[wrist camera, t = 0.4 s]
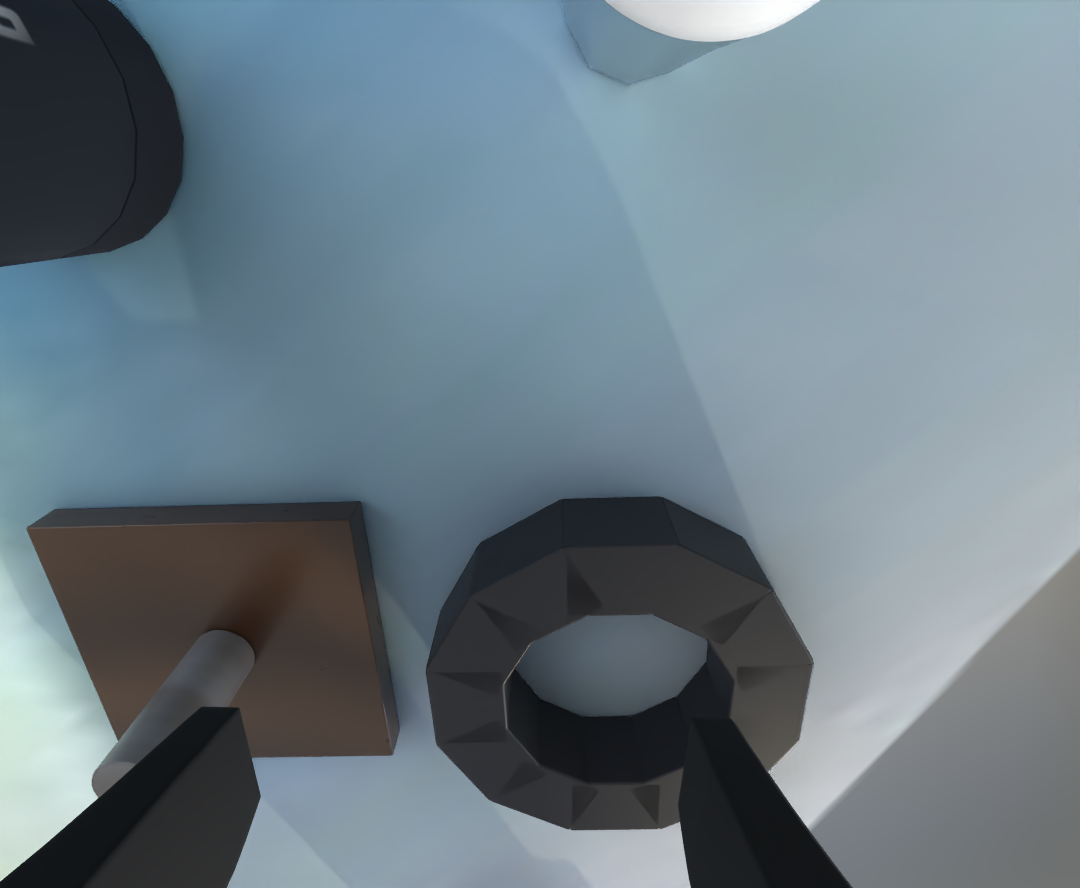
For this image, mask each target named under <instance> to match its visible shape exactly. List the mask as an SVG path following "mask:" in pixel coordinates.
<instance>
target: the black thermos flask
mask: <svg viewBox="0 0 1080 888" xmlns="http://www.w3.org/2000/svg"><path fill="white" fill-rule="evenodd" d="M182 153H183V134H182V130H181V125H180V121H179V116H178V112H177V108H176V103H175V99H174V94H173V91H172V89H171V87H170V85H169V83H168V81H167V79H166V77H165V75H164V74H163V72H162V70H161V68H160V66H159V64H158V62H157V60H156V58H155V56H154V54H153V52H152V50H151V48H150V46H149V45H148V44H147V43H146V41H145V40H144V39H143V38H142V37H141V36H140V34H139V33H138V32H137V31H136V30H135V29H134V27H133V26H132V25H131V24H130V23H129V22H128V20H127V19H126V18H125V17H124V16H123V15H122V13H121V12H120V11H119V10H118V9H117V8H116V6H115V5H113V4H112V3H111V2H109V1H108V0H0V267H3V266H10V265H17V264H25V263H32V262H39V261H46V260H53V259H58V258H67V257H74V256H82V255H89V254H96V253H103V252H110V251H112V250H115V249H117V248H120V247H122V246H125V245H127V244H130V243H132V242H135V241H137V240H140V239H142V238H143V237H144V236H145V235H146V234H147V233H148V232H149V231H150V230H151V229H152V228H153V227H154V226H155V225H156V224H157V223H158V222H159V221H160V220H161V219H162V218H163V217H164V216H165V215H166V214H167V212H168V210H169V207H170V205H171V202H172V200H173V198H174V195H175V193H176V190H177V188H178V186H179V183H180V181H181V170H182Z"/></svg>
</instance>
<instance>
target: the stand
mask: <svg viewBox="0 0 1080 888" xmlns="http://www.w3.org/2000/svg"><path fill="white" fill-rule="evenodd" d="M26 529H27V532H28V534H29V536H30V539H31V541H32V543H33V546H34V548H35V550H36V552H37V555H38V557H39V559H40V562H41V564H42V566H43V569H44V571H45V573H46V576H47V578H48V580H49V583H50V585H51V587H52V589H53V592H54V594H55V596H56V599H57V601H58V603H59V606H60V608H61V610H62V613H63V615H64V617H65V620H66V622H67V624H68V626H69V629H70V631H71V633H72V636H73V638H74V640H75V643H76V645H77V647H78V650H79V652H80V654H81V656H82V659H83V661H84V663H85V666H86V668H87V670H88V673H89V675H90V677H91V680H92V682H93V684H94V687H95V689H96V691H97V693H98V696H99V698H100V700H101V703H102V705H103V707H104V710H105V712H106V714H107V717H108V719H109V721H110V724H111V726H112V728H113V730H114V733H115V735H116V737H117V740H118V742H117V743H116V745H115V746H114V747H113V748H112V750H111V751H110V752H109V754H108V755H107V756H106V757H105V759H104V760H103V761H102V763H101V764H100V765H99V766H98V768H97V769H96V770H95V772H94V774H93V777H92V787H93V790H94V792H95V794H96V795H97V796H98V797H100V796H101V795H103V794H104V793H105V792H106V791H107V790H108V789H109V788H111V787H112V786H113V785H114V784H115V783H116V782H117V781H118V780H119V779H121V778H122V777H123V776H124V775H125V774H126V773H127V772H128V771H130V770H131V769H132V768H133V767H134V766H135V765H136V764H137V763H138V762H140V761H141V760H142V759H143V758H144V757H145V756H146V755H147V754H148V753H150V752H151V751H152V750H153V749H154V748H155V747H156V746H157V745H159V744H160V743H161V742H162V741H163V740H164V739H165V738H166V737H167V736H169V735H170V734H171V733H172V732H173V731H174V730H175V729H176V728H178V727H179V726H180V725H181V724H182V723H183V722H184V721H185V720H187V719H188V718H189V717H190V716H191V715H192V714H193V713H195V712H196V711H197V710H198V709H199V708H200V707H239V708H240V712H241V717H242V721H243V725H244V729H245V733H246V737H247V741H248V746H249V750H250V754H251V758H264V757H328V756H391V755H393V752H394V749H395V745H396V741H397V738H398V734H399V730H400V727H399V722H398V716H397V710H396V704H395V699H394V693H393V687H392V681H391V676H390V670H389V664H388V658H387V653H386V647H385V641H384V635H383V629H382V624H381V618H380V612H379V606H378V601H377V595H376V589H375V583H374V578H373V572H372V566H371V560H370V555H369V549H368V543H367V537H366V532H365V526H364V520H363V514H362V509H361V503H360V502H320V503H281V504H242V505H203V506H164V507H125V508H86V509H55V510H53V511H52V512H50V513H48V514H47V515H45V516H44V517H42V518H41V519H39V520H38V521H36V522H35V523H33V524H31V525H30V526H28V527H27V528H26Z"/></svg>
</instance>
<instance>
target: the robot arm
mask: <svg viewBox="0 0 1080 888" xmlns="http://www.w3.org/2000/svg"><path fill="white" fill-rule="evenodd" d="M260 797H261V795H260V791H259V787H258V783H257V779H256V775H255V770H254V766H253V762H252V758H251V754H250V750H249V746H248V741H247V737H246V733H245V729H244V725H243V721H242V717H241V712H240V708H239V707H200V708H199V709H198V710H197V711H196V712H195V713H193V714H192V715H191V716H190V717H189V718H188V719H187V720H185V721H184V722H183V723H182V724H181V725H180V726H179V727H178V728H176V729H175V730H174V731H173V732H172V733H171V734H170V735H169V736H167V737H166V738H165V739H164V740H163V741H162V742H161V743H160V744H159V745H157V746H156V747H155V748H154V749H153V750H152V751H151V752H150V753H148V754H147V755H146V756H145V757H144V758H143V759H142V760H141V761H140V762H138V763H137V764H136V765H135V766H134V767H133V768H132V769H131V770H130V771H128V772H127V773H126V774H125V775H124V776H123V777H122V778H121V779H119V780H118V781H117V782H116V783H115V784H114V785H113V786H112V787H111V788H109V789H108V790H107V791H106V792H105V793H104V794H103V795H101V796H100V797H99V798H98V799H97V800H96V801H95V802H93V803H92V804H91V805H90V806H89V807H88V808H87V809H85V810H84V811H83V812H82V813H81V814H80V815H79V816H77V817H76V818H75V819H74V820H73V821H72V822H71V823H69V824H68V825H67V826H66V827H65V828H64V829H63V830H61V831H60V832H59V833H58V834H57V835H56V836H55V837H53V838H52V839H51V840H50V841H49V842H48V843H46V844H45V845H44V846H43V847H42V848H40V849H39V850H38V851H37V852H36V853H34V854H33V855H32V856H31V857H30V858H28V859H27V860H26V861H25V862H23V863H22V864H21V865H20V866H19V867H17V868H16V869H15V870H14V871H13V872H11V873H10V874H9V875H8V876H6V877H5V878H4V879H3V880H2V881H0V888H227V886H228V883H229V881H230V879H231V877H232V875H233V872H234V870H235V868H236V865H237V862H238V860H239V857H240V854H241V852H242V849H243V846H244V843H245V841H246V838H247V835H248V832H249V829H250V827H251V824H252V821H253V818H254V815H255V812H256V809H257V806H258V803H259V800H260ZM678 810H679V817H680V824H681V831H682V838H683V844H684V851H685V857H686V863H687V869H688V876H689V881H690V885H691V888H852V886H851V885H850V884H849V882H848V881H847V880H846V879H845V877H844V876H843V875H842V874H841V872H840V871H839V870H838V868H837V867H836V866H835V864H834V863H833V862H832V860H831V859H830V857H829V856H828V855H827V854H826V852H825V851H824V850H823V848H822V847H821V845H820V844H819V843H818V842H817V840H816V839H815V837H814V836H813V835H812V833H811V832H810V831H809V829H808V828H807V827H806V825H805V824H804V823H803V821H802V820H801V818H800V817H799V816H798V814H797V813H796V812H795V810H794V809H793V807H792V806H791V805H790V803H789V802H788V800H787V799H786V797H785V796H784V795H783V793H782V792H781V790H780V789H779V787H778V786H777V784H776V783H775V782H774V780H773V779H772V777H771V776H770V774H769V773H768V771H767V770H766V768H765V767H764V766H763V764H762V763H761V761H760V760H759V758H758V757H757V755H756V754H755V752H754V751H753V749H752V748H751V746H750V744H749V743H748V741H747V740H746V738H745V737H744V735H743V734H742V732H741V731H740V729H739V728H738V726H737V724H736V723H735V722H734V721H733V720H732V719H731V718H721V717H692V718H691V724H690V731H689V737H688V743H687V750H686V756H685V762H684V769H683V775H682V781H681V788H680V794H679V801H678Z"/></svg>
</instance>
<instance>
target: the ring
mask: <svg viewBox="0 0 1080 888" xmlns="http://www.w3.org/2000/svg"><path fill="white" fill-rule="evenodd" d="M646 614H653V615H655V616H657V617H659V618H661V619H664V620H666V621H668V622H670V623H673V624H675V625H677V626H679V627H681V628H684V629H686V630H688V631H690V632H692V633H695V634H697V635H699V636H701V637H703V638H706V639H707V641H708V651H707V662H706V663H705V664H704V666H703V667H702V668H701V669H700V670H699V672H698V673H697V674H696V675H695V676H694V678H693V679H692V680H691V681H690V682H689V684H688V685H687V686H686V687H685V688H684V690H683V691H682V692H681V693H680V694H679V696H678V697H676V698H674V699H671V700H669V701H667V702H664V703H662V704H660V705H658V706H655V707H653V708H651V709H648V710H646V711H644V712H641V713H639V714H637V715H635V716H632V717H581V716H578V715H576V714H573V713H571V712H569V711H566V710H564V709H561V708H559V707H556V706H554V705H551V704H549V703H546V702H544V701H542V700H540V699H539V698H538V697H537V696H536V695H535V693H534V692H533V691H532V690H531V689H530V687H529V686H528V685H527V684H526V682H525V681H524V680H523V679H522V678H521V676H520V675H519V674H518V673H517V672H516V670H515V667H516V666H517V664H518V663H519V661H520V660H521V658H522V657H523V655H524V654H525V652H526V651H527V649H528V648H529V646H530V645H531V643H532V642H535V641H537V640H539V639H541V638H543V637H545V636H547V635H549V634H551V633H553V632H555V631H557V630H559V629H561V628H563V627H565V626H567V625H569V624H572V623H574V622H576V621H578V620H580V619H582V618H584V617H586V616H598V615H646ZM813 666H814V662H813V658H812V657H811V655H810V653H809V651H808V650H807V648H806V646H805V644H804V643H803V641H802V639H801V637H800V636H799V634H798V632H797V630H796V628H795V627H794V625H793V623H792V621H791V620H790V618H789V616H788V614H787V613H786V611H785V609H784V607H783V606H782V604H781V602H780V600H779V599H778V597H777V595H776V593H775V592H774V590H773V588H772V586H771V585H770V583H769V581H768V579H767V578H766V576H765V574H764V572H763V571H762V569H761V567H760V565H759V564H758V562H757V560H756V558H755V557H754V555H753V553H752V551H751V550H750V548H749V546H748V544H747V542H746V541H745V540H744V539H743V537H742V536H740V535H738V534H735V533H733V532H731V531H729V530H727V529H725V528H723V527H721V526H719V525H717V524H715V523H713V522H711V521H709V520H707V519H705V518H703V517H701V516H699V515H697V514H695V513H693V512H691V511H689V510H687V509H685V508H683V507H681V506H679V505H677V504H675V503H673V502H671V501H669V500H667V499H665V498H663V497H625V498H586V499H562V500H559V501H557V502H555V503H553V504H551V505H550V506H548V507H546V508H544V509H542V510H540V511H539V512H537V513H535V514H533V515H531V516H529V517H527V518H526V519H524V520H522V521H520V522H518V523H516V524H515V525H513V526H511V527H509V528H507V529H505V530H503V531H502V532H500V533H498V534H496V535H494V536H492V537H491V538H489V539H487V540H485V541H483V542H481V543H480V545H479V546H478V547H477V549H476V550H475V552H474V554H473V556H472V557H471V559H470V561H469V562H468V564H467V566H466V568H465V569H464V571H463V573H462V575H461V576H460V578H459V580H458V582H457V583H456V585H455V587H454V588H453V590H452V592H451V594H450V595H449V597H448V599H447V601H446V602H445V604H444V606H443V607H442V609H441V611H440V615H439V619H438V623H437V627H436V631H435V635H434V639H433V643H432V647H431V651H430V655H429V659H428V663H427V667H426V676H427V683H428V690H429V697H430V704H431V711H432V718H433V725H434V732H435V739H436V743H437V746H438V747H439V748H440V749H441V750H442V751H443V752H444V753H445V754H446V755H447V756H448V757H449V759H450V760H451V761H452V762H453V763H454V764H455V765H456V766H457V767H458V768H459V769H460V770H461V771H462V772H463V773H464V774H465V775H466V776H467V777H468V778H469V780H470V781H471V782H472V783H473V784H474V785H475V786H476V787H477V788H478V789H479V790H480V791H481V792H482V793H483V794H484V795H485V796H486V797H487V798H488V799H489V800H491V801H492V802H495V803H498V804H500V805H503V806H506V807H508V808H511V809H514V810H517V811H519V812H522V813H525V814H528V815H530V816H533V817H536V818H538V819H541V820H544V821H547V822H549V823H552V824H555V825H557V826H560V827H563V828H566V829H571V830H630V829H662V828H665V827H668V826H670V825H673V824H675V823H678V822H680V817H679V810H678V801H679V794H680V788H681V781H682V775H683V769H684V762H685V756H686V750H687V743H688V737H689V731H690V724H691V718H692V717H721V718H731V719H732V720H733V721H734V722H735V723H736V724H737V726H738V728H739V729H740V731H741V732H742V734H743V735H744V737H745V738H746V740H747V741H748V743H749V744H750V746H751V748H752V749H753V751H754V752H755V754H756V755H757V757H758V758H759V760H760V761H761V763H762V764H763V766H764V767H765V768H766V770H767V771H769V770H770V769H771V768H772V767H773V766H774V765H775V764H776V763H777V762H778V761H779V760H780V759H781V758H782V757H783V756H784V755H785V754H786V753H787V752H788V751H789V750H790V749H791V748H792V747H793V746H794V745H795V744H796V743H797V742H798V741H799V738H800V735H801V730H802V725H803V719H804V714H805V709H806V703H807V698H808V693H809V688H810V682H811V677H812V672H813Z"/></svg>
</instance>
